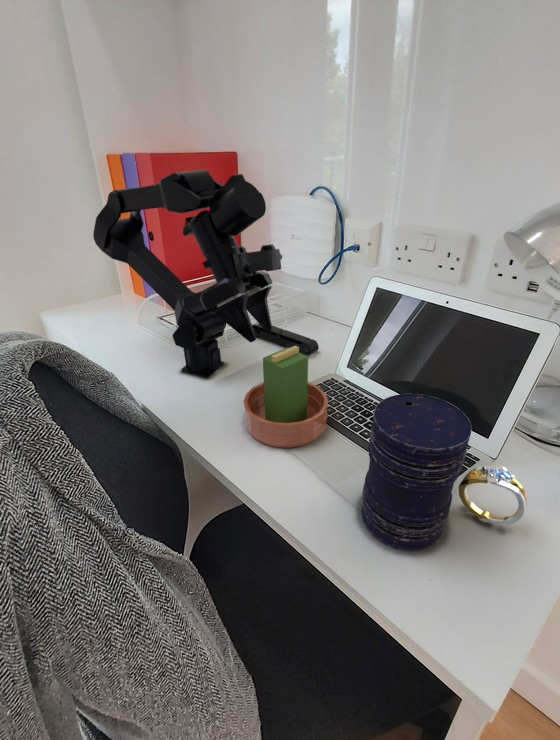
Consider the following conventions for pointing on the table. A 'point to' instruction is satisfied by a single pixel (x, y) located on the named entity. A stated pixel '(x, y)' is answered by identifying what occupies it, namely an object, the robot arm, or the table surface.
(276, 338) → the tablet stand
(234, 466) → the table surface
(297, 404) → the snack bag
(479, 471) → the ring
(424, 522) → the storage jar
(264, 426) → the bowl
